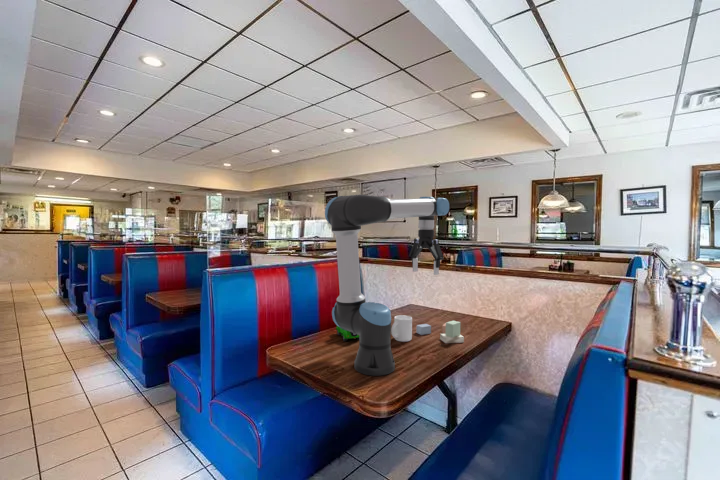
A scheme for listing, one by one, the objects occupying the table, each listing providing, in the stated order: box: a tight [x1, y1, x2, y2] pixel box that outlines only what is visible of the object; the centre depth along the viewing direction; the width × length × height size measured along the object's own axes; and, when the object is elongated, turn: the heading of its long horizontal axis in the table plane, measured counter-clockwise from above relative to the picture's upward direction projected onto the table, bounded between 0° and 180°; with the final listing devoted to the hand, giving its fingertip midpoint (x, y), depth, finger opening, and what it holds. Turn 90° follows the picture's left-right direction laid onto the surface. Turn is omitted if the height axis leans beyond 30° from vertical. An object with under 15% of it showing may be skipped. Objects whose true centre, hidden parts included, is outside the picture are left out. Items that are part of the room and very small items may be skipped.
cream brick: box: [439, 333, 465, 344], centre depth 161 cm, size 9×6×3 cm, turn 100°
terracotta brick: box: [441, 322, 446, 334], centre depth 174 cm, size 6×4×4 cm, turn 152°
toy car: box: [335, 325, 359, 342], centre depth 163 cm, size 8×17×10 cm, turn 20°
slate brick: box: [415, 323, 432, 336], centre depth 172 cm, size 6×4×4 cm, turn 118°
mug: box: [391, 314, 413, 343], centre depth 161 cm, size 12×8×10 cm
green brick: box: [445, 320, 461, 337], centre depth 161 cm, size 6×4×6 cm, turn 131°
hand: (425, 273), depth 167 cm, fingers open, 13 cm apart
